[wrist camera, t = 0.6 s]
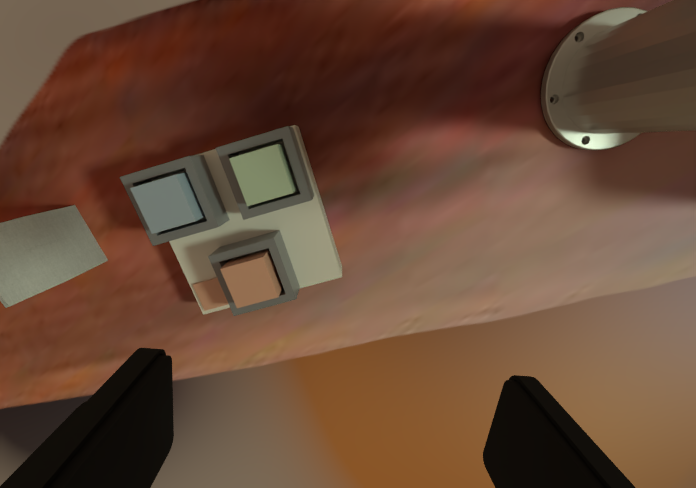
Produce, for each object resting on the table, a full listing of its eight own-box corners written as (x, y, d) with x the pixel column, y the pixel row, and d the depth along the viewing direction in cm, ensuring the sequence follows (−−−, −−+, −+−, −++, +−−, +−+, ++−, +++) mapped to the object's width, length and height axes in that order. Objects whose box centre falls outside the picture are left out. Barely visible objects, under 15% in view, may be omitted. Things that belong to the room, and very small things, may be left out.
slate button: (188, 172, 30) (175, 174, 27) (206, 215, 31) (195, 221, 29) (146, 184, 30) (129, 188, 28) (165, 227, 31) (151, 233, 29)
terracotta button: (268, 249, 32) (263, 257, 30) (282, 286, 33) (278, 297, 31) (228, 260, 32) (220, 269, 30) (244, 297, 33) (236, 308, 31)
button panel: (298, 126, 33) (289, 122, 27) (342, 266, 38) (342, 288, 32) (154, 170, 34) (116, 175, 28) (213, 301, 39) (191, 329, 33)
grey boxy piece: (74, 205, 35) (-25, 227, 26) (108, 260, 37) (26, 300, 27) (45, 216, 35) (-65, 242, 26) (79, 270, 37) (-11, 313, 28)
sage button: (281, 144, 29) (276, 144, 27) (296, 189, 30) (293, 193, 28) (237, 157, 29) (229, 158, 27) (254, 201, 31) (247, 206, 28)
